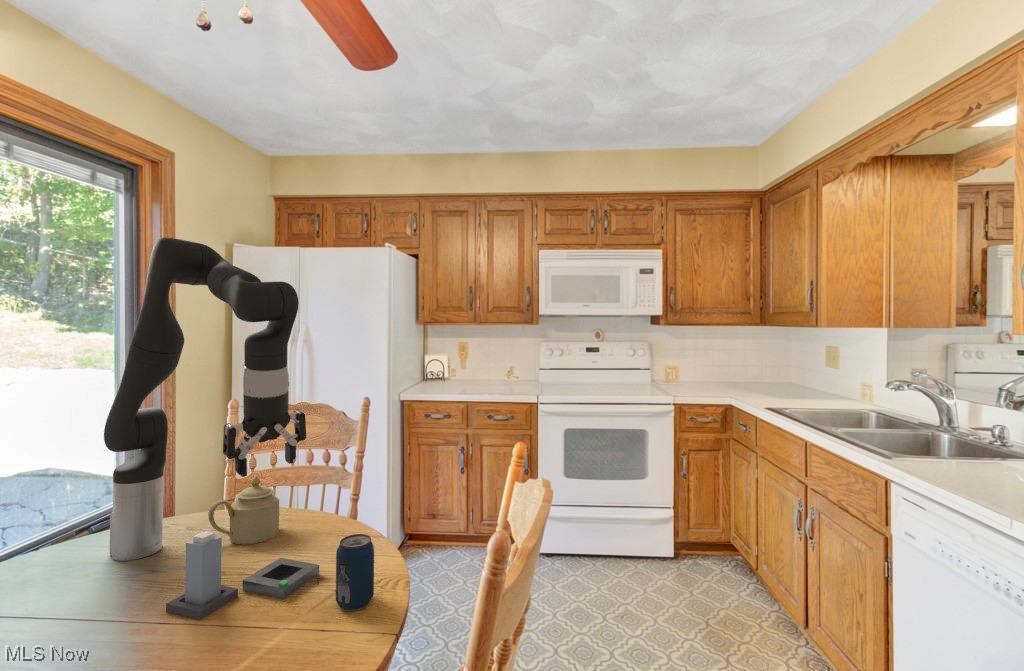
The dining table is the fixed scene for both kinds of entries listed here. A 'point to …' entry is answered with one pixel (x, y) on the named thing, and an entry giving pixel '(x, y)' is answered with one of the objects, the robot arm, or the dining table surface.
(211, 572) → the plug
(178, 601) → the holster
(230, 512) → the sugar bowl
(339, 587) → the soda can
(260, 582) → the port
